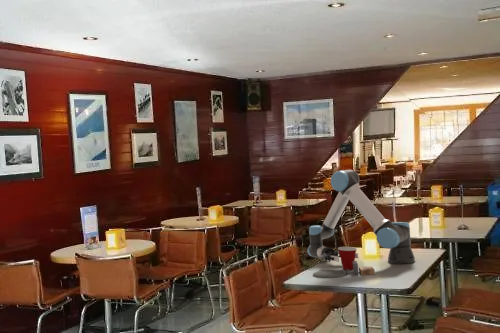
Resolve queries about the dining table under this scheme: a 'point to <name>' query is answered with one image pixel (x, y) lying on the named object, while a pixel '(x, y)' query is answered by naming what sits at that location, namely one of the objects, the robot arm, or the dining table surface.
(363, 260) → the dining table surface
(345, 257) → the plastic cup
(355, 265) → the bench dog
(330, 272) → the mat
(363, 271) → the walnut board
